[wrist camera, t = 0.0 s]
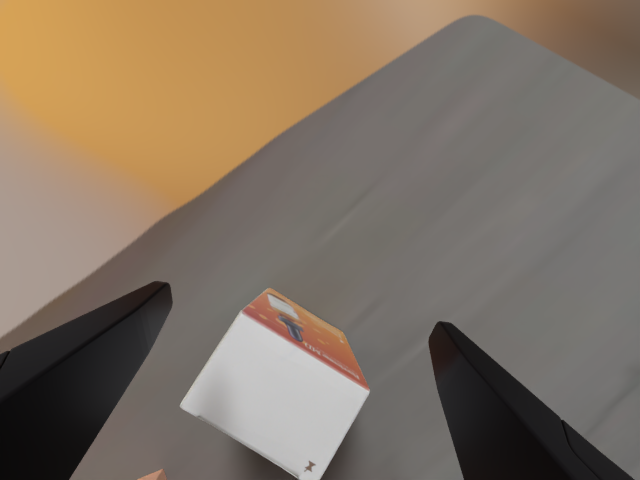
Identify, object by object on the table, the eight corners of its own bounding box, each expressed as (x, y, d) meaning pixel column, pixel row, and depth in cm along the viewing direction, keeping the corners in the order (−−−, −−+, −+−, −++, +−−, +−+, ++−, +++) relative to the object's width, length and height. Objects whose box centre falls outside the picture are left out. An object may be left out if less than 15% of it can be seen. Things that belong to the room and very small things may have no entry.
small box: (344, 332, 24) (376, 392, 13) (311, 387, 23) (317, 496, 13) (268, 284, 23) (240, 308, 13) (233, 339, 23) (174, 409, 12)
